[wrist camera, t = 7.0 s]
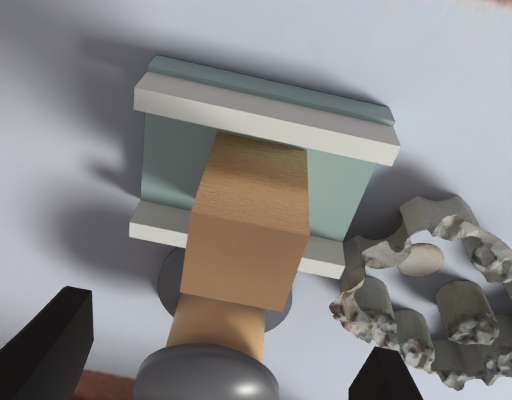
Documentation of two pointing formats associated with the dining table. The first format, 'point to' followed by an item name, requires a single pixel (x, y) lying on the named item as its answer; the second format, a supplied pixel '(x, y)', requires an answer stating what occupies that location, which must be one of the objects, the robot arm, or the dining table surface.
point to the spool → (208, 346)
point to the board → (260, 128)
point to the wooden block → (248, 223)
